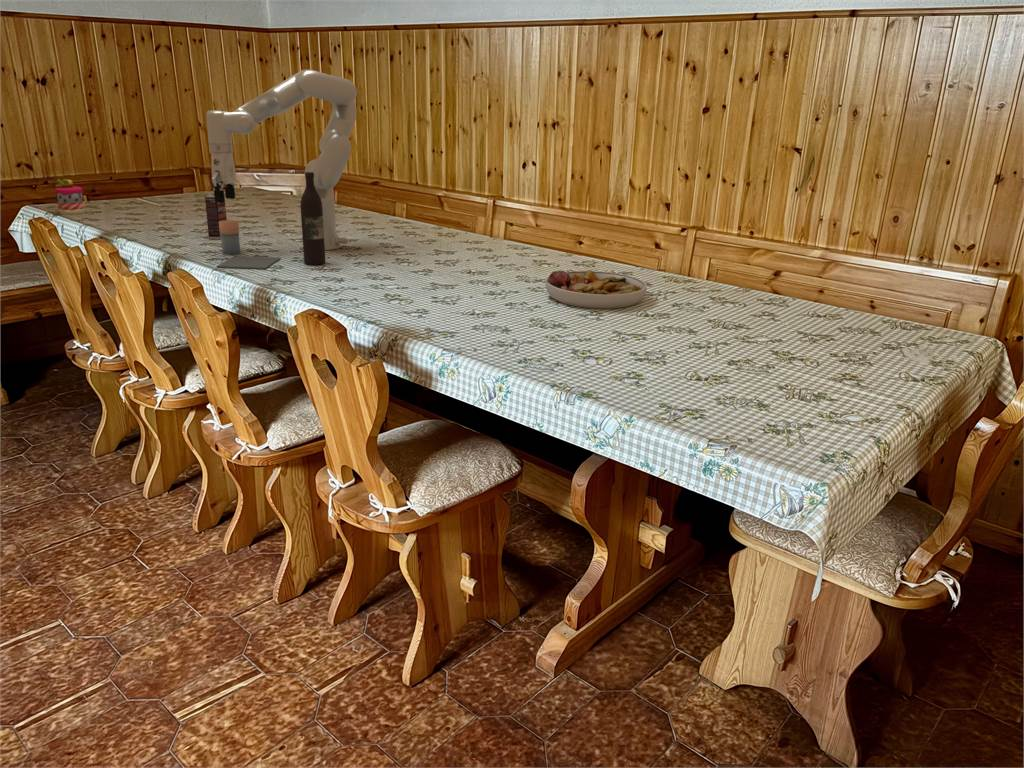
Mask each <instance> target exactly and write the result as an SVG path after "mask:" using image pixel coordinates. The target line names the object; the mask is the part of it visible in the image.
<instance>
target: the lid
mask: <svg viewBox="0 0 1024 768" xmlns="http://www.w3.org/2000/svg"><path fill="white" fill-rule="evenodd" d="M239 224H240V223H239V220H237V219H227V220H222V221H219V231H220V234H224V235H232V234H238V233H239V234H240V225H239Z"/></svg>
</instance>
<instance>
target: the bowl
mask: <svg viewBox="0 0 1024 768" xmlns="http://www.w3.org/2000/svg"><path fill="white" fill-rule="evenodd" d="M544 281H545V283H544V284H545V285H544V286H545V289H546V292H547V294H548V295H549V296H550V297H551V298H553V299H554V300H555V301H557V302H560V303H562V304H565V305H567V306H572V307H573V306H574V307H578V308H586V309H596V310H598V309H599V310H608V309H609V310H611V309H612V310H613V309H621V308H626V307H630V306H633V305H635V304H637V303H640V302H641V300H643V299H644V298H645V296H646V293H647V288H648V285H647V283H646V282H645V281H643V280H642V279H639V278H637V277H634V276H630V275H627V274H623V273H616V272H607V271H595V270H592V269H589V270H575V271H565V270H558V271H557V270H555V271H553V272H551V273H550V275H548V277H546V278H545V280H544Z"/></svg>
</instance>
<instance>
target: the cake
mask: <svg viewBox="0 0 1024 768" xmlns="http://www.w3.org/2000/svg"><path fill="white" fill-rule="evenodd" d="M56 183H57V184H55V187H56V188H55V189H54V191H55V196H56V198H57V199H56V201H57V208H58V209H59V214H60V215H63V216H77V215H85V214H86V210H85V208H86V203H85V200H84V194H83V188H82V187H80V186H78V185H73V184H74V182H73V180H71V179H66V178H64V179H63V180H60V179H56Z"/></svg>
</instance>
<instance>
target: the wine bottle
mask: <svg viewBox="0 0 1024 768" xmlns="http://www.w3.org/2000/svg"><path fill="white" fill-rule="evenodd" d="M305 178H306V181H305V189H304V191H303V193H302V196H301V198H300V218H301V219H300V220H301V235H302V246H303V247H302V249H303V250H302V251H303V261H304V262H303V263H304V264H305V265H309V266H320V265H324V264H326V250H325V244H324V226H323V208H322V201H321V198H320V196H319V194H318V193H317V191H316V189H315V186H314V173H313V172H306V173H305V172H304V179H305Z"/></svg>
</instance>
